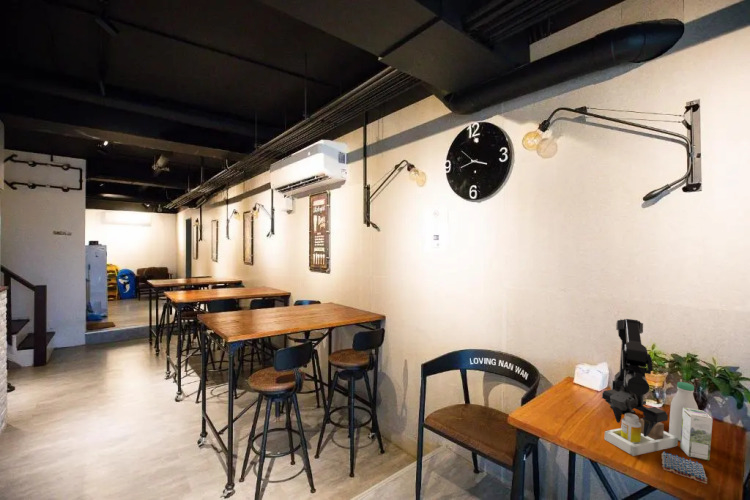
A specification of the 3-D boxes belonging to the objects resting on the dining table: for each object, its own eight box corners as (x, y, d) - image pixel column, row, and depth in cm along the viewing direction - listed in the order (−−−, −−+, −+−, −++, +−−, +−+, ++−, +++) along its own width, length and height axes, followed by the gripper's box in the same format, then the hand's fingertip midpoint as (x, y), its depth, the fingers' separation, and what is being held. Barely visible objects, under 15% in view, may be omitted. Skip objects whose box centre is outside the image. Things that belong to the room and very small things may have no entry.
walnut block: (647, 436, 128) (648, 417, 127) (662, 443, 123) (663, 424, 123) (638, 438, 126) (639, 418, 126) (653, 445, 121) (654, 425, 121)
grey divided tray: (647, 431, 131) (647, 423, 131) (677, 446, 122) (677, 437, 122) (604, 439, 124) (604, 431, 124) (633, 456, 115) (633, 446, 114)
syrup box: (700, 451, 119) (702, 409, 119) (710, 461, 113) (713, 417, 113) (679, 447, 121) (682, 406, 120) (688, 457, 115) (691, 414, 115)
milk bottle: (690, 446, 122) (694, 389, 122) (664, 435, 129) (667, 381, 128) (700, 441, 125) (704, 386, 125) (674, 430, 132) (677, 378, 132)
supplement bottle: (642, 445, 121) (643, 416, 121) (637, 451, 117) (639, 421, 117) (623, 438, 125) (624, 410, 125) (618, 443, 122) (619, 414, 122)
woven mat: (661, 471, 108) (662, 464, 108) (660, 455, 116) (661, 449, 116) (708, 486, 102) (708, 479, 102) (703, 469, 110) (703, 462, 110)
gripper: (592, 376, 127) (589, 418, 127) (646, 398, 109) (643, 447, 110) (614, 374, 131) (611, 415, 131) (670, 395, 113) (667, 442, 113)
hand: (631, 429), depth 121 cm, fingers open, 9 cm apart
